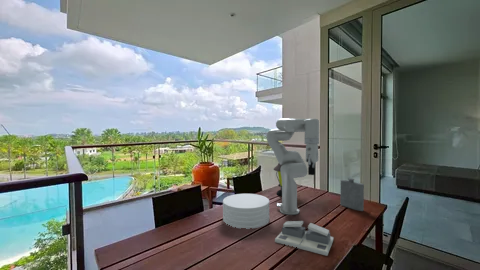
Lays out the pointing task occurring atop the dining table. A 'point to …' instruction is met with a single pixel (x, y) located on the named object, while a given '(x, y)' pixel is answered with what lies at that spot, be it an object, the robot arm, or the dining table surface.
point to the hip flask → (352, 194)
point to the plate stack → (246, 210)
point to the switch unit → (305, 239)
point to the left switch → (293, 224)
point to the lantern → (279, 178)
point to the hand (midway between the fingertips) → (311, 174)
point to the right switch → (318, 229)
